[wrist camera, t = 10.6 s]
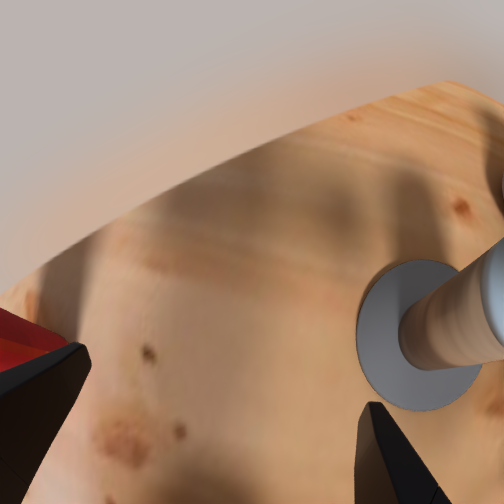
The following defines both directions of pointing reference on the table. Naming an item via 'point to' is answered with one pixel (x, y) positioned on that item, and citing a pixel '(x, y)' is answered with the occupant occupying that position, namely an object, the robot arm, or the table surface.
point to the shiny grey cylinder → (458, 318)
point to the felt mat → (387, 346)
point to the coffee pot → (503, 184)
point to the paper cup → (24, 340)
